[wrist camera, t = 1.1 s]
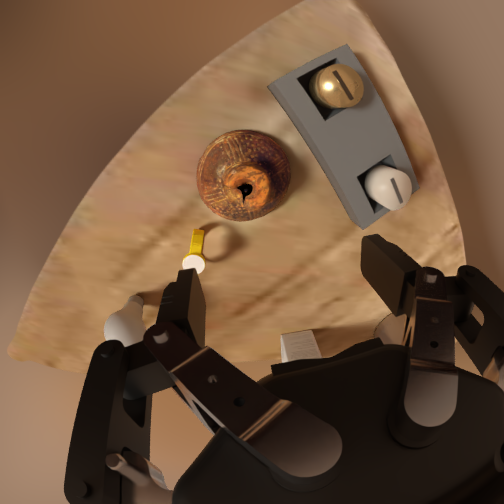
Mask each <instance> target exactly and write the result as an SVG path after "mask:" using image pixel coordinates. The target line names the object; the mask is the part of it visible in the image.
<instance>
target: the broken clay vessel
mask: <svg viewBox="0 0 504 504" xmlns="http://www.w3.org/2000/svg"><path fill="white" fill-rule="evenodd" d="M228 134H229V135H228ZM245 134H246V135H245ZM214 148H215V149H214ZM272 149H273V150H272ZM215 155H216V156H215ZM204 159H205V160H204ZM264 162H265V163H264ZM202 183H203V184H204V185H203V184H202ZM246 183H248V184H251V185H252V186H253V191H252V193H251V194H250V195H248V196H246V197H245V201H244V203H243V196H242V193H241V191H240V190H239V189H237V187H238V186H243V185H245V184H246ZM289 183H290V166H289V161H288V158H287V156H286V154H285V152H284V151H283V149H282V148H281V147H280V146H279V145H278V144H277V143H276V142H275V141H274V140H272V139H270V138H269V137H267V136H265V135H262V134H260V133H257V132H254V131H249V130H235V131H231V132H228V133H225V134H223V135H221V136H219V137H218V138H217V139H215V140H214V141H213V142H212V143H210V144H209V146H208V147H207V148H206V150H205V152H204V154H203V156H202V157H201V158H200V160H199V163H198V167H197V186H198V190H199V193H200V196H201V199H202V200H203V202H204V203H205V204H206V205H207V207H208V208H210V209H211V210H212V211H213V212H214V213H216V214H218V215H219V216H221V217H223V218H225V219H228V220H233V221H249V220H253V219H256V218H259V217H262V216H265V215H266V214H268V213H269V212H270V211H272V210H273V209H274V208H275V207H276V206H277V205H278V204H279V203H280V202H281V200H282V199H283V198H284V196H285V194H286V192H287V190H288V186H289ZM205 186H206V187H205ZM265 189H266V190H265ZM244 191H245V192H246V191H248V189H245V190H244ZM217 197H218V198H217ZM246 209H247V210H246Z"/></svg>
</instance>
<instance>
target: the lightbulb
mask: <svg viewBox="0 0 504 504" xmlns="http://www.w3.org/2000/svg"><path fill="white" fill-rule="evenodd" d="M143 305H144V301H143V299H142V298H141V297H140V296H137V295H133V296H131V297H130V298H129V300H128V302H127V303H126V304H125V305H124V307H123V308H122V309H121V310H119V311H117V312H115V313H113V314H111V315H110V316H109V318H108V319H107V321H106V323H105V326H104V336H105V339H106V341H107V340H112V339H116V340H119V341H121V342H122V343H123V345H124V346H125V347H126V346H129V345H132V344H135V343H138V342H140V341H142V340H143V335H144V333H145V332H146V327H145V324H144V322H143V320H142V315H143Z"/></svg>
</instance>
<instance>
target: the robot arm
mask: <svg viewBox="0 0 504 504" xmlns="http://www.w3.org/2000/svg"><path fill="white" fill-rule="evenodd" d="M361 271H362V274H363V276H364V278H365V279H366V280H367V281H368V282H369V284H370V285H371V286H372V287H373V289H374V290H375V291H376V292H377V294H378V295H379V296H380V297H381V299H382V300H383V301H384V303H385V304H386V305H387V306H388V308H389V309H390V310H391V312H392V314H390V315H389V316H387V317H386V318H385V319H384V320H383V321H382V322H381V323H380V324H379V325H378V327H377V329H376V331H375V335H374V339H371V340H368V341H365V342H361V343H358V344H355V345H353V346H351V347H350V348H348V349H346V350H344V351H342V352H340V353H339V354H337V355H335V356H333V357H330V358H315V359H298V360H293V361H289V362H284V363H279V364H274V365H271V369H272V374H270V375H267V376H266V377H264V378H262V379H260V380H259V381H257V382H255V381H254V380H252V379H251V378H250V377H248V376H247V375H246V374H244V373H243V372H242V371H240V370H239V369H238V368H236V367H235V366H234V365H232V364H231V363H230V362H229V361H227V360H226V359H225V358H223V357H222V356H221V355H220V354H218V353H217V352H216V351H215V350H213V349H212V348H211V347H209V346H206V347H205V315H206V305H205V298H204V294H203V291H202V288H201V284H200V281H199V278H198V274H197V271H196V269H195V268H190V269H184V270H179V272H178V277H177V281H176V282H172V283H169V285H168V286H167V287H166V288H165V289H164V292H163V296H162V300H161V305H160V308H159V312H158V316H157V320H156V324H154V325H152V326H151V327H149V328H148V329H147V330H146V332H145V333H144V335H143V340H142V341H140V342H138V343H135V344H132V345H129V346H126V347H125V346H124V345H123V343H122V342H121V341H119V340H116V339H112V340H107V341H105V342H103V343H101V344H100V345H99V346H98V347H97V348H96V349H95V351H94V353H93V356H92V359H91V362H90V365H89V369H88V372H87V376H86V379H85V382H84V386H83V390H82V393H81V397H80V401H79V405H78V409H77V413H76V418H75V422H74V427H73V431H72V437H71V442H70V447H69V453H68V459H67V466H66V474H65V481H64V493H65V496H66V499H67V500H68V502H69V503H70V504H504V292H503V291H501V290H500V289H499V288H498V287H497V286H496V285H495V284H494V283H493V282H492V281H491V280H490V279H489V278H488V277H487V276H486V275H484V274H483V273H482V272H481V271H480V270H479V269H477V268H475V267H473V266H469V265H463V266H460V267H459V268H458V271H457V275H456V276H448V277H445V275H444V274H443V273H442V272H441V271H440V270H438V269H436V268H433V267H421V266H420V265H419V264H418V263H417V262H416V261H414V260H413V259H412V258H411V257H410V256H408V254H406V253H405V252H403V250H402V249H401V248H399V247H398V246H397V245H395V244H393V243H390V242H387V241H386V240H385V239H384V238H382V237H381V236H380V235H379V234H373V235H368V236H364V237H363V238H362V246H361ZM474 304H475V305H476V306H477V307H478V308H479V309H480V310H481V311H482V312H483V314H484V324H483V326H481V325H480V324H479V322H478V321H477V320H476V319H475V317H474V316H473V315H472V314H471V312H472V310H473V307H474ZM455 338H456V339H457V340H458V342H459V343H460V344H461V346H462V347H463V349H464V350H465V351H466V353H467V354H468V356H469V357H470V359H471V360H472V361H473V363H474V364H475V366H476V367H477V369H478V370H479V372H480V374H481V375H482V377H481V376H479V375H476V374H474V373H471V372H468V371H466V370H464V369H461V368H459V367H456V366H455ZM170 387H171V388H172V390H173V391H174V392H175V393H176V394H177V395H178V396H179V397H180V399H181V400H182V401H183V402H184V403H185V404H186V405H187V406H188V407H189V409H190V410H191V411H192V412H193V413H194V414H195V415H196V416H197V417H198V418H199V420H200V421H201V422H202V423H203V424H204V426H205V427H206V428H207V429H208V430H209V431H210V432H211V433H212V434H213V435H214V436H213V438H212V439H211V440H210V441H209V443H208V444H207V445H206V447H205V448H204V449H203V450H202V452H201V453H200V454H199V456H198V457H197V458H196V459H195V461H194V462H193V463H192V464H191V465H190V467H189V468H188V469H187V470H186V472H185V473H184V474H183V475H182V476H181V478H180V479H179V480H178V482H177V484H176V485H175V488H174V490H173V491H172V490H169V489H168V488H167V486H166V484H165V482H164V476H163V474H162V472H161V471H160V469H159V468H158V467H156V466H155V465H153V464H152V463H151V462H150V426H151V408H152V394H153V393H156V392H159V391H162V390H164V389H167V388H170Z"/></svg>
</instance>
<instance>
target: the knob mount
mask: <svg viewBox="0 0 504 504" xmlns="http://www.w3.org/2000/svg"><path fill="white" fill-rule="evenodd" d="M333 64H344V65H347V66H349V67H351V68H353V69H354V70H355V71H356V72H357V73H358V74H359V76H360V77H361V79H362V82H363V87H364V91H363V96H362V98H361V100H360V101H359V102H358V103H357V104H356V105H354V106H352V107H346V108H333V109H330V108H325V107H322V106H320V105H319V104H317V103H316V102H315V101H314V99H313V98H312V96H311V94H310V91H309V82H310V79H311V77H312V76H313V75H314V74H315V73H316V72H318V71H320V70H322V69H324V68H326V67H329V66H331V65H333ZM267 87H268V89H269V90H270V91H271V93H272V94H273V95H274V97H275V98H276V99H277V101H278V102H279V104H280V105H281V106H282V108H283V109H284V111H285V112H286V113H287V115H288V116H289V118H290V119H291V121H292V122H293V124H294V125H295V127H296V128H297V130H298V131H299V133H300V134H301V136H302V137H303V139H304V140H305V142H306V143H307V145H308V147H309V148H310V150H311V151H312V153H313V154H314V156H315V158H316V159H317V161H318V163H319V164H320V166H321V168H322V169H323V171H324V173H325V174H326V176H327V178H328V179H329V181H330V183H331V184H332V186H333V188H334V190H335V192H336V193H337V195H338V197H339V199H340V200H341V202H342V204H343V206H344V208H345V210H346V211H347V213H348V215H349V217H350V219H351V220H352V221H353V222H354V223H355V224H357V225H358V226H359V227H360V228H361V229H363V230H364V229H365V228H367V227H368V226H369V225H371V224H372V223H373V222H375V221H376V220H378V219H379V218H380V217H382V216H383V215H385V214H386V213H387V212H389V211H390V209H388V208H386V207H384V206H383V205H381V204H379V203H378V202H376V201H374V200H373V199H371V198H370V197H369V196H368V195H367V193H366V190H365V178H366V175H367V173H368V172H369V170H370V169H371V168H373V167H374V166H377V165H385V166H388V167H391V168H394V169H396V170H399V171H402V172H404V173H405V174H407V176H408V177H409V178H410V181H411V185H412V192H411V194H413V193H414V192H415V191H417V190H418V189H419V188H420V187H419V185H418V182H417V179H416V176H415V173H414V171H413V168H412V166H411V163H410V160H409V158H408V155H407V153H406V151H405V148H404V146H403V144H402V141H401V139H400V137H399V135H398V132H397V130H396V128H395V126H394V124H393V122H392V120H391V118H390V116H389V114H388V112H387V110H386V108H385V106H384V104H383V102H382V100H381V98H380V96H379V94H378V93H377V91H376V89H375V87H374V86H373V84H372V82H371V80H370V79H369V77H368V75H367V74H366V72H365V70H364V69H363V67H362V66H361V64H360V62H359V61H358V59H357V58H356V56H355V55H354V53H353V52H352V50H351V49H350V47H349V46H348V44H346V45H343V46H341V47H339V48H337V49H334V50H332V51H330V52H328V53H326V54H324V55H322V56H320V57H318V58H316V59H314V60H312V61H310V62H308V63H306V64H304V65H302V66H300V67H299V68H297V69H295V70H293V71H291V72H289V73H288V74H286V75H284V76H282V77H281V78H279V79H277V80H275V81H274V82H272V83H271V84H270V85H269V86H267Z"/></svg>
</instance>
